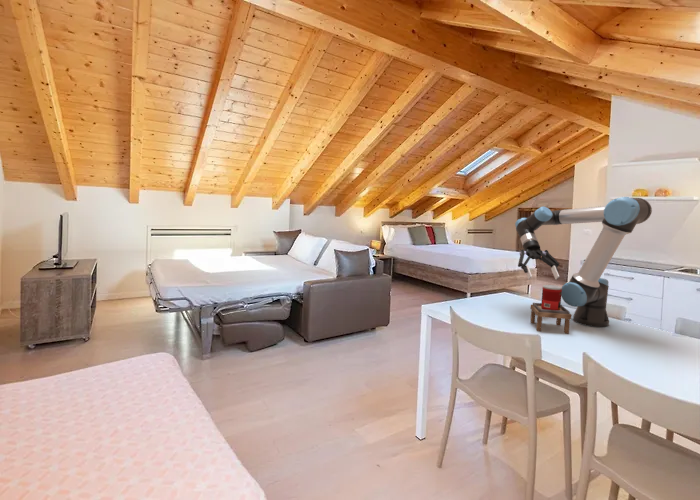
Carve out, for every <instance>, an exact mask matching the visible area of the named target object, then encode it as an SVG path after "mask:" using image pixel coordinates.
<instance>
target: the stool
mask: <svg viewBox="0 0 700 500" xmlns="http://www.w3.org/2000/svg"><path fill="white" fill-rule="evenodd" d="M541 303H542V302H532V304H530V310H531V311H530V324H536V332H542V323H543V318H550V319H551V318H552V319H556V321H555V322H556V323H555V325H556V326H558V327H559V326H561V325H562V319H564V324H563V325H564V327H563V333H564V334H567V335H569V334H570V333H569V332H570V325H571V323H570V321H571V320H572V319H573V316H572V315H573V314H571V312H570V311H569V310H568V309H567V308H566V307H565V306H563V305H562V304H561V306H560V310H559V311H558V310H544V309H542V307H541Z"/></svg>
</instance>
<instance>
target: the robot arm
mask: <svg viewBox="0 0 700 500" xmlns="http://www.w3.org/2000/svg"><path fill="white" fill-rule="evenodd" d="M652 212H653V208H652V205H651V203H649V201H647V200H646V199H643V198H641V197H629V196H621V197H617V198H614V199H612V200H610V201H609V202H608V203H606V205H602V206H601V205H600V206H599V205H598V206H589V207H579V208H568V209H559V210H556V209H555V210H551V209H550V208H548V207H546V206H540V207H539V208H537V209H536V210H534V212H533V213H532V214H531V215H530V216H528V217H520V218H518V219H517V220H516V221H515V223H514V226H515V229H516V232H517V234H518V237H519V239H520V243H521V245H522V247H523V249H521V250H520V252H519V259H518V263H517V267H518V268H520V269H521V270H523V272H524V274H526V278H527V279H528V280H531V279H532V277H533V275H532V272H531V269H530V267H529V265H527V264H528V263H529V261H531V260H539V261H542V262H543V263H545V264H547V265H548V266H549V267H550V270H551V273H552V275H553V278H554V279H555V280H558V279H559V278H560V275H559V269H558V266H560V265H561V264H560V263H559V261H558V260H557V259H555V257H554V256H553V255H551V254H550V252H549V250H548V249H545V250H541V246H540V243H539V241H538V238H537V236H536V233H535V231H537V230H538V229H539V228H541V227H542V226H558V225H569V224H570V225H571V224H587V223H588V224H589V223H591V224H592V223H601V224H602V229H601V231H600V233H599V234H598V236H597V238H596V240H595V242H594V243H593V245H592V248H591V249H590V251H589V253H588V254H587V256H586V258H585V260H584V262H583V263H582V264H581V267H580V269H579V270H578V272H575V273H573V274H572V275H571V278H570V279H569V281H568V282H566V283H564V284H563V285H562V286H561V287H562V295H561V300H563V301H564V303H565V304H567V305H569V306H570V307H576V309H575V311H574V313H573V314H572V315H573V316H572V320H573V321H574V322H575V323H577V324H580V325H583V326H588V327H594V328H595V327H596V328H603V327H604V328H605V327H608V326H609V325H610V319H609V316H608V313H607V302H608V293H609V288H610V286H609V280H608V278H603V277H602V276H603V273H604V272H605V270H606V268H607V266H608V265H609V263H610V261H611V260H612V258H613V257H614V255H615V254H616V251H617V249H618V248H619V246H620V244H621V243H622V241H623V239H624V237H626V235H630V234H631V233H632V232H633V231H634V229H635V227H636V226H637V225H638V224H639V225H640V224H642V223H644V222H646V221H648V219H649V218H650V217H651V215H652ZM525 255H526V256H527V258H526V259H525V261H524V257H525Z"/></svg>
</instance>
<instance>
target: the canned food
mask: <svg viewBox="0 0 700 500" xmlns="http://www.w3.org/2000/svg"><path fill="white" fill-rule="evenodd" d="M541 291H542V293H541V302H540V303H541V307H542V309H544V310H558V311H559V310H560V306H561V305H562V304H561V303H562V296H561V295H562V286H559V285H554V284H543V285H542V289H541Z"/></svg>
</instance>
